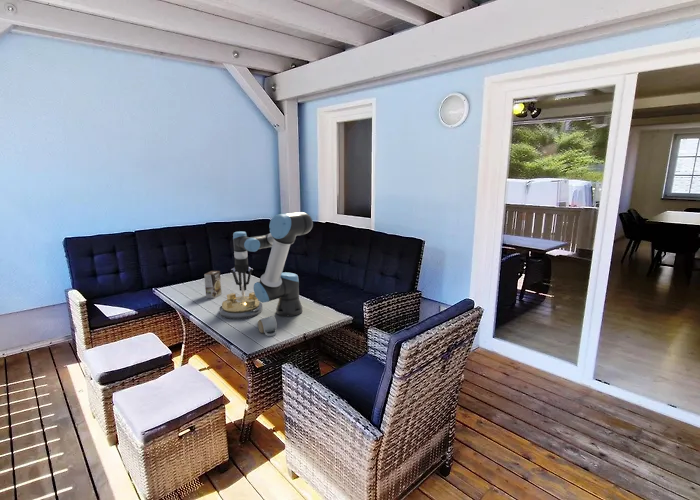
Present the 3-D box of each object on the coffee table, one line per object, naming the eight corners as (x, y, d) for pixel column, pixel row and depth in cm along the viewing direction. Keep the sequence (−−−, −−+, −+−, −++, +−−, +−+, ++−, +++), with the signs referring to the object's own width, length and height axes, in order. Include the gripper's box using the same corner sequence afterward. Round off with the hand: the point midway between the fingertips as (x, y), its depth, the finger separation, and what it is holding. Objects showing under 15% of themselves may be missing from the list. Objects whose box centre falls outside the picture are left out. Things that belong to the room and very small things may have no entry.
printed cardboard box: (214, 298, 236) (212, 274, 233) (205, 297, 237) (203, 274, 234) (222, 294, 245) (220, 270, 241) (213, 293, 246) (211, 270, 243)
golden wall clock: (261, 299, 226) (260, 290, 225) (257, 312, 205) (256, 302, 204) (226, 300, 223) (225, 292, 222) (218, 314, 203) (217, 304, 202)
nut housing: (264, 303, 228) (264, 298, 227) (260, 318, 205) (259, 313, 204) (224, 305, 225) (224, 300, 224) (215, 320, 202) (215, 315, 201)
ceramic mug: (257, 330, 189) (256, 316, 187) (272, 327, 193) (271, 313, 192) (264, 338, 180) (264, 324, 179) (280, 334, 185) (279, 320, 183)
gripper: (253, 256, 222) (255, 293, 227) (231, 256, 220) (233, 293, 225) (251, 258, 214) (253, 297, 219) (228, 259, 213) (231, 297, 218)
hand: (243, 295), depth 222 cm, fingers closed
